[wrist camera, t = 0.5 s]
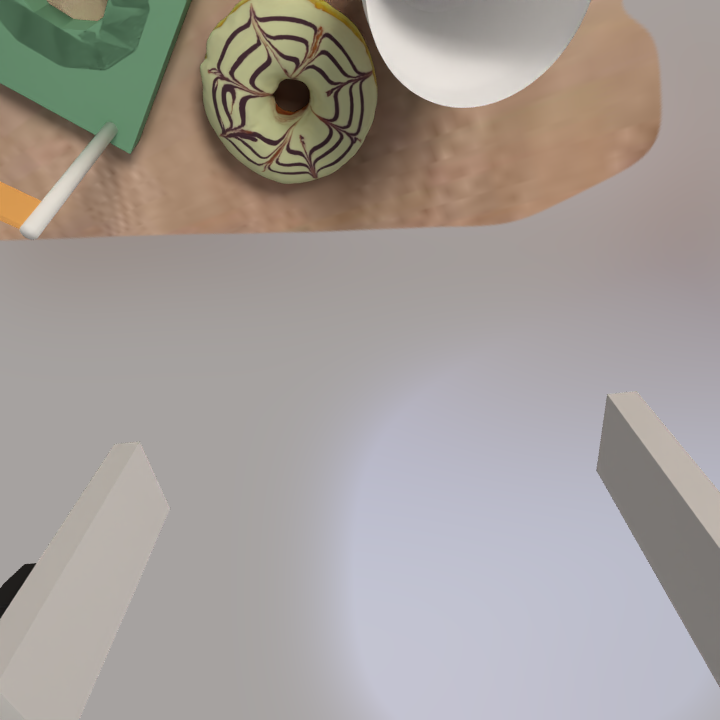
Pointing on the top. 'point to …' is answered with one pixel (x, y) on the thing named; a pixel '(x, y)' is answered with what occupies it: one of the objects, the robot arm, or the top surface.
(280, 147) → the decorated donut
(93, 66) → the green
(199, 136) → the top surface
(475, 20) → the cup
